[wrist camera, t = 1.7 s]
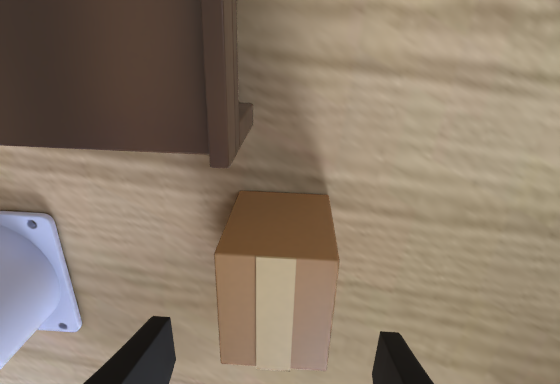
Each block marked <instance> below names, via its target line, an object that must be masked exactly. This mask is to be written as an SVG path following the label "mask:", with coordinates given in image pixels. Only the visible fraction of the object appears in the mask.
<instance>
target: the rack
mask: <svg viewBox="0 0 560 384" xmlns="http://www.w3.org/2000/svg"><path fill="white" fill-rule="evenodd" d="M252 125H253V104H251V103H239V100H238V54H237V7H236V0H0V145H4V146H27V147H49V148H72V149H94V150H117V151H139V152H161V153H184V154H206V155H209V156H210V167H212V168H229V167H230V165H231V164H232V162H233V160H234V158H235V156H236V154H237V152H238V150H239V148H240V147H241V145H242V143H243V141H244V139H245V138H246V136H247V134H248V132H249V131H250V129H251V127H252Z"/></svg>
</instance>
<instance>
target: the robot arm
mask: <svg viewBox="0 0 560 384" xmlns="http://www.w3.org/2000/svg"><path fill="white" fill-rule="evenodd" d="M32 220H33V221H34V222H36V224H35V223H33V221H32ZM81 326H82V320H81V316H80V313H79V309H78V305H77V302H76V298H75V294H74V291H73V287H72V283H71V280H70V276H69V272H68V269H67V265H66V261H65V258H64V254H63V250H62V247H61V243H60V239H59V236H58V232H57V228H56V225H55V221H54V219H53V218H52V217H51V216H50V215H48V214H45V213H32V212H13V211H0V370H1V368H2V367H3V366H4V365H5V364H6V363H7V362H8V361H9V360H10V359H11V357H12V356H13V355H14V354H15V353H16V352H17V351H18V350H19V349H20V348H21V346H22V345H23V344H24V343H25V342H26V341H27V340H28V339H29V338H30V336H31V335H32V334H33V333H34V332H35V331H36V330H48V331H63V332H77V331H78V330H79V329H80V328H81ZM175 361H176V357H175V349H174V342H173V334H172V327H171V320H170V317H160V316H152V317H151V318H150V319H149V320H148V321H147V322H146V323H145V324H144V325H143V326H142V327H141V328H140V329H139V330H138V331H137V332H136V333H135V334H134V335H133V337H132V338H131V339H130V340H129V341H128V342H127V343H126V344H125V345H124V346H123V347H122V348H121V349H120V350H119V351H118V352H117V353H115V354H114V355H113V356H112V357H111V358H110V359H109V360H108V361H107V362H106V363H105V364H104V365H103V366H102V367H101V368H100V369H99V370H98V371H97V372H96V373H94V374H93V375H92V376H91V377H90V378H89V379H88V380H87V381H86V382H84V383H83V384H169V381H170V378H171V375H172V371H173V368H174V364H175ZM372 378H373V384H434V383H433V382H432V380H431V379H430V378H429V376H428V375H427V373H426V372H425V370H424V369H423V368H422V366H421V365H420V363H419V362H418V360H417V359H416V357H415V356H414V354H413V353H412V351H411V350H410V348H409V347H408V345H407V344H406V342H405V341H404V339H403V337H402V336H401V335H400V334H399V333H396V332H381V331H380V336H379V341H378V346H377V351H376V356H375V361H374V366H373V371H372Z"/></svg>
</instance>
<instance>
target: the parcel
mask: <svg viewBox="0 0 560 384" xmlns="http://www.w3.org/2000/svg"><path fill="white" fill-rule="evenodd" d="M214 259H215V276H216V292H217V309H218V325H219V342H220V358H221V363H222V364H233V365H247V366H256V369H261V370H275V371H289V372H290V369H304V370H318V371H326V370H327V363H328V355H329V346H330V338H331V329H332V321H333V312H334V304H335V295H336V286H337V278H338V269H339V255H338V249H337V243H336V237H335V231H334V225H333V219H332V213H331V207H330V201H329V196H328V195H319V194H298V193H278V192H257V191H240V192H239V194H238V196H237V199H236V201H235V204H234V206H233V209H232V211H231V214H230V216H229V219H228V221H227V224H226V226H225V228H224V231H223V233H222V236H221V238H220V241H219V243H218V246H217V248H216V251H215V253H214Z"/></svg>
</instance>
